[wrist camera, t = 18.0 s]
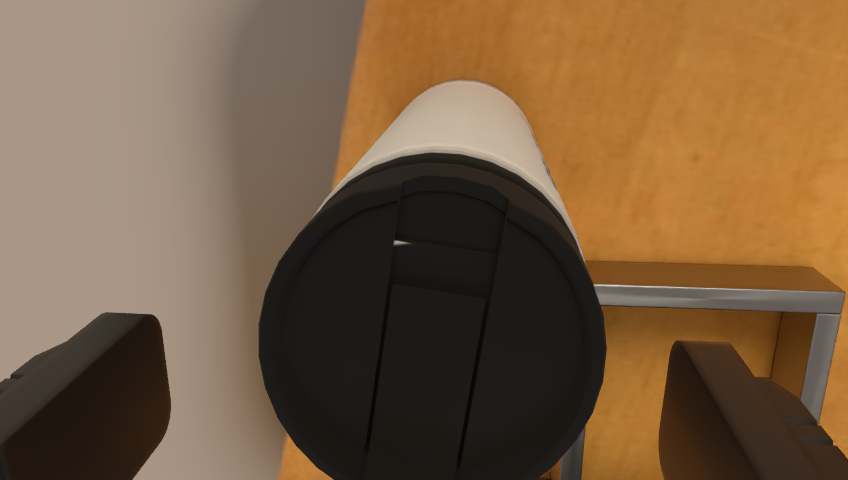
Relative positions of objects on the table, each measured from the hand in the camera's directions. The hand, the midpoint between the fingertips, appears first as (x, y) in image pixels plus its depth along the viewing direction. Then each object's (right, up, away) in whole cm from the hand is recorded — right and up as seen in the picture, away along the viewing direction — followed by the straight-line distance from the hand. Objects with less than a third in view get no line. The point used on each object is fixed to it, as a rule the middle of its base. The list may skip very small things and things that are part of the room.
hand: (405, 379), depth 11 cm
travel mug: (+2, +6, +20) cm, 21 cm away
